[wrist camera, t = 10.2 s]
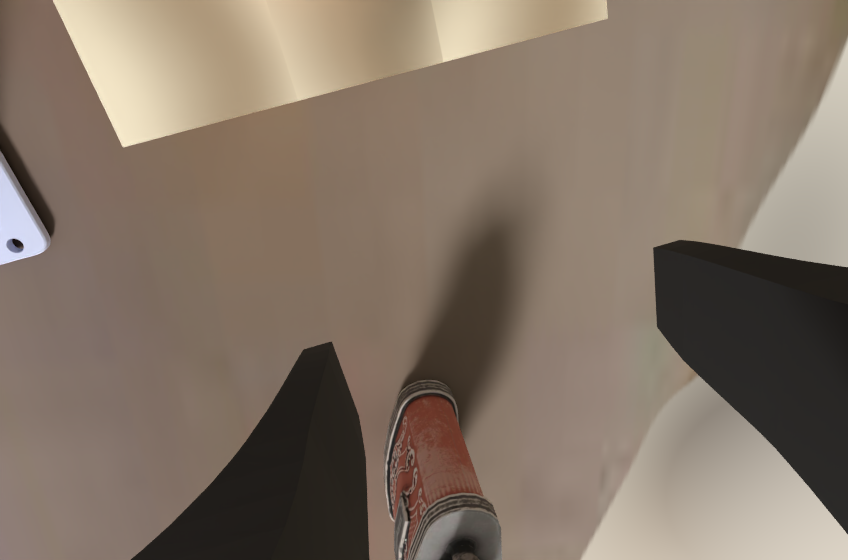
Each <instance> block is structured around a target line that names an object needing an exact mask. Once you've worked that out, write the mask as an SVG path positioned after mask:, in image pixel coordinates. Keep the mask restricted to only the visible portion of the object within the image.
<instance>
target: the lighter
mask: <svg viewBox="0 0 848 560" xmlns="http://www.w3.org/2000/svg"><path fill="white" fill-rule="evenodd" d="M384 483H385V490H386V497H387V503H388V510H389V515H390V517H391V519H392V521H394V522H395V527H394V551H395V558H396V560H502V547H501V527H500V524H499V521H498V519H497V516H496V513H495V510H494V508H493V505H492V503H491V502H490V501H489V500H488V499H486V498H485V497H484V496H483V493H482V490H481V487H480V484H479V482H478V479H477V476H476V473H475V470H474V467H473V464H472V462H471V459H470V456H469V453H468V450H467V447H466V444H465V441H464V439H463V436H462V433H461V430H460V427H459V423H458V410H457V405H456V402H455V400H454V397H453V394H452V391H451V389H450V388H449V387H448V386H447V385H446V384H443V383H441V382H439V381H435V380H422V381H417V382H414V383H412V384H410V385H408V386H407V387H405V388H404V389H403V390H402V391H401V392H400V394H399V396H398V398H397V401H396V404H395V407H394V410H393V413H392V416H391V419H390V422H389V426H388V431H387V437H386V442H385V448H384Z"/></svg>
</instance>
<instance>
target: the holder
mask: <svg viewBox="0 0 848 560" xmlns="http://www.w3.org/2000/svg"><path fill="white" fill-rule="evenodd" d="M53 1H54V3H55V5H56V8H57V10H58V12H59V14H60V16H61V18H62V20H63V22H64V24H65V26H66V29H67V31H68V33H69V35H70V37H71V39H72V41H73V43H74V45H75V47H76V50H77V52H78V54H79V56H80V58H81V60H82V62H83V64H84V66H85V68H86V71H87V73H88V75H89V77H90V79H91V81H92V83H93V85H94V87H95V89H96V92H97V94H98V96H99V98H100V100H101V102H102V104H103V106H104V108H105V110H106V113H107V115H108V117H109V119H110V121H111V123H112V125H113V127H114V129H115V131H116V134H117V136H118V138H119V140H120V142H121V144H122V146H123V147H126V146H130V145H134V144H137V143H141V142H145V141H149V140H152V139H156V138H160V137H164V136H168V135H171V134H175V133H179V132H183V131H186V130H190V129H194V128H198V127H201V126H205V125H209V124H213V123H216V122H220V121H224V120H228V119H232V118H235V117H239V116H243V115H247V114H250V113H254V112H258V111H262V110H265V109H269V108H273V107H277V106H280V105H284V104H288V103H292V102H295V101H299V100H303V99H307V98H311V97H314V96H318V95H322V94H326V93H329V92H333V91H337V90H341V89H344V88H348V87H352V86H356V85H359V84H363V83H367V82H371V81H375V80H378V79H382V78H386V77H390V76H393V75H397V74H401V73H405V72H408V71H412V70H416V69H420V68H423V67H427V66H431V65H435V64H438V63H442V62H446V61H450V60H454V59H457V58H461V57H465V56H469V55H472V54H476V53H480V52H484V51H487V50H491V49H495V48H499V47H502V46H506V45H510V44H514V43H518V42H521V41H525V40H529V39H533V38H536V37H540V36H544V35H548V34H551V33H555V32H559V31H563V30H566V29H570V28H574V27H578V26H581V25H585V24H589V23H593V22H597V21H600V20H604V19H608V16H607V3H606V0H53Z"/></svg>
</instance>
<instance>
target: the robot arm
mask: <svg viewBox="0 0 848 560" xmlns="http://www.w3.org/2000/svg"><path fill="white" fill-rule="evenodd" d="M12 239H18V240H20V241H21V242H22V243H23V245H24V249H20V248H17V247H16V246H15V245H14V244H13V242H12ZM50 241H51V239H50V236H49V234H48V232H47V230H46V229H45V227H44V225H43V223H42V222H41V220H40V218H39V216H38V215H37V213H36V211H35V210H34V208H33V206H32V204H31V203H30V201H29V199H28V197H27V196H26V194H25V192H24V191H23V189H22V187H21V185H20V184H19V182H18V180H17V178H16V177H15V175H14V173H13V171H12V170H11V168H10V166H9V165H8V163H7V161H6V159H5V158H4V156H3V154H2V152H1V151H0V265H1V264H5V263H8V262H12V261H16V260H19V259H23V258H26V257H30V256H34V255H37V254H40V253H42V252H43V251H45V250H46V249H47V248H48V247H49V245H50ZM653 251H654V272H655V293H656V314H657V327H658V329H659V330H660V331H661V333H662V334H663V335H664V337H665V338H666V339H667V341H668V342H669V343H670V344H671V346H672V347H673V348H674V349H675V351H676V352H677V353H678V354H679V355H680V357H681V358H682V359H683V360H684V361H685V362H686V363H687V364H688V365H689V366H690V367H691V368H692V369H693V370H694V371H695V372H696V373H697V374H698V375H699V376H700V377H701V378H702V379H703V380H705V382H706V383H708V384H709V385H710V386H711V387H712V388H713V389H714V390H715V391H716V392H717V393H718V394H719V395H720V396H721V397H723V398H724V399H725V400H726V401H727V402H728V403H729V404H730V405H731V406H732V407H733V408H734V409H735V410H736V411H738V412H739V413H740V414H741V415H742V416H743V417H744V418H745V419H746V420H747V421H748V422H749V423H750V424H752V425H753V426H754V427H755V428H756V429H757V430H758V431H759V432H760V433H761V434H762V435H763V436H764V437H765V438H766V439H767V440H768V441H769V442H770V443H771V444H772V445H773V446H774V447H775V448H776V449H777V451H778V452H779V453H780V454H781V455H782V456H783V457H784V459H786V461H787V462H788V463H789V464H790V465H791V467H792V468H793V469H794V470H795V471H796V472H797V473H798V474H799V476H800V477H801V478H802V479H803V480H804V482H805V483H806V484H807V485H808V486H809V487H810V488H811V490H812V491H813V492H814V493H815V495H816V496H817V497H818V498H819V499H820V501H821V502H822V503H823V504H824V506H825V507H826V508H827V509H828V511H829V512H830V513H831V514H832V515H833V517H834V518H835V519H836V520H837V522H838V523H839V524H840V525H841V526H842V528H843V529H844V530H845V531H846V533H847V534H848V267H841V266H834V265H827V264H821V263H814V262H807V261H801V260H796V259H790V258H784V257H779V256H773V255H768V254H762V253H757V252H752V251H747V250H742V249H736V248H731V247H726V246H720V245H715V244H709V243H703V242H696V241H686V240H678V241H675V242H672V243H668V244H665V245H661V246H658V247H654V248H653ZM131 560H369V541H368V510H367V481H366V457H365V450H364V444H363V438H362V432H361V426H360V420H359V415H358V413H357V410H356V407H355V404H354V402H353V399H352V396H351V393H350V391H349V388H348V385H347V382H346V380H345V377H344V374H343V371H342V369H341V366H340V363H339V360H338V358H337V355H336V352H335V349H334V347H333V344H332V342H328V343H325V344H321V345H318V346H314V347H311V348H308V349H304V350H303V351H302V353H301V355H300V356H299V358H298V360H297V361H296V363H295V365H294V366H293V368H292V370H291V372H290V373H289V375H288V377H287V379H286V380H285V382H284V384H283V386H282V387H281V389H280V391H279V392H278V394H277V396H276V397H275V399H274V400H273V402H272V404H271V405H270V407H269V409H268V410H267V412H266V413H265V415H264V416H263V417H262V419H261V420H260V422H259V423H258V425H257V426H256V427H255V429H254V430H253V432H252V433H251V435H250V436H249V438H248V439H247V440H246V442H245V443H244V444H243V446H242V447H241V448H240V450H239V451H238V452H237V453H236V455H235V456H234V457H233V458H232V460H231V461H230V462H229V463H228V464H227V466H226V467H225V468H224V469H223V470H222V471H221V473H220V474H219V475H218V476H217V477H216V478H215V480H214V481H213V482H212V483H211V484H210V485H209V486H208V487H207V488H206V489H205V490H204V491H203V492H202V493H201V494H200V495H199V496H198V497H197V498H196V500H195V501H194V502H193V503H192V504H191V505H190V506H189V507H188V508H187V509H186V510H185V511H184V512H183V513H182V514H181V515H180V516H179V517H178V518H177V519H176V520H175V521H174V522H173V523H172V524H171V525H170V526H168V527H167V528H166V529H165V530H164V531H163V532H162V533H161V534H160V535H159V536H157V537H156V538H155V539H154V540H153V541H152V542H151V543H150V544H149V545H147V546H146V547H145V548H144V549H143V550H142V551H141V552H139V553H138V554H137V555H136V556H135V557H133V558H132V559H131Z"/></svg>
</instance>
